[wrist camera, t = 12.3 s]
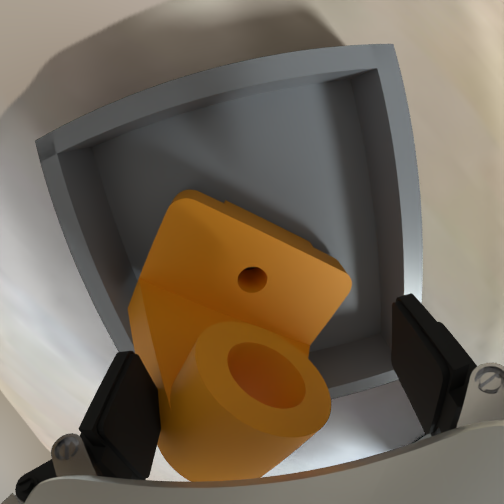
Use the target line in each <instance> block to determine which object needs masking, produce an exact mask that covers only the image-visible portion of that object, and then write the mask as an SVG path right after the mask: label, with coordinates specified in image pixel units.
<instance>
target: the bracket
mask: <svg viewBox="0 0 504 504" xmlns="http://www.w3.org/2000/svg"><path fill="white" fill-rule="evenodd" d="M248 267H256V268H254V269H251V270H245V268H248ZM351 287H352V281H351V278H350V276H349V275H348V274H347V272H346V271H345V269H344V268H343V267H342V265H341V264H340V263H339V261H338V260H337V259H335V258H333V257H332V256H330V255H328V254H326V253H324V252H322V251H320V250H318V249H316V248H314V247H313V246H312V244H311V243H310V242H309V241H307V240H305V239H303V238H301V237H299V236H297V235H295V234H293V233H291V232H289V231H287V230H285V229H283V228H281V227H279V226H277V225H275V224H273V223H271V222H269V221H267V220H265V219H263V218H261V217H259V216H257V215H255V214H253V213H251V212H249V211H247V210H245V209H243V208H241V207H239V206H237V205H235V204H232V203H230V202H228V201H226V200H225V202H224V203H222V202H220V201H218V200H216V199H214V198H212V197H210V196H207V195H205V194H203V193H201V192H199V191H196V190H184V191H182V192H180V193H179V194H177V195H176V196H175V198H174V199H173V201H172V203H171V204H170V206H169V208H168V209H167V212H166V214H165V216H164V218H163V221H162V223H161V225H160V228H159V230H158V232H157V235H156V237H155V239H154V242H153V244H152V247H151V249H150V251H149V254H148V256H147V259H146V261H145V264H144V266H143V269H142V272H141V274H140V277H139V279H138V282H137V284H136V287H135V290H134V292H133V295H132V298H131V301H130V303H129V306H128V315H129V321H130V327H131V333H132V339H133V345H134V350H135V354H138V355H139V356H140V358H141V360H142V362H143V364H144V366H145V367H146V369H147V371H148V373H149V375H150V377H151V378H152V380H153V382H154V384H155V385H156V387H157V389H158V398H159V411H160V422H161V431H160V435H159V439H158V443H157V445H158V447H159V449H160V451H161V453H162V455H163V456H164V458H165V459H166V461H167V462H168V463H169V464H170V466H171V467H172V468H173V469H174V470H175V471H177V472H178V473H179V474H180V475H181V476H183V477H184V478H186V479H187V480H189V481H191V482H203V481H228V480H242V479H253V478H260V477H262V476H263V475H264V474H266V473H267V472H268V471H270V470H271V469H272V468H274V467H275V466H276V465H278V464H279V463H280V462H281V461H283V460H284V459H285V458H286V457H288V456H289V455H290V454H291V453H293V452H294V451H295V450H296V449H298V448H299V447H300V446H301V445H302V444H303V443H305V442H306V441H307V440H308V439H309V438H310V437H312V436H313V435H314V434H315V433H316V432H317V431H318V430H320V429H321V428H322V427H323V426H324V425H325V423H326V422H327V420H328V418H329V416H330V412H331V397H330V393H329V390H328V387H327V385H326V383H325V381H324V379H323V377H322V376H321V374H320V373H319V371H318V370H317V368H316V367H315V366H314V365H313V363H312V362H311V361H310V360H309V359H308V357H309V350H310V345H311V343H312V342H313V341H314V340H315V338H316V337H317V336H318V334H319V333H320V332H321V331H322V329H323V328H324V327H325V325H326V324H327V323H328V321H329V320H330V319H331V317H332V316H333V315H334V313H335V312H336V310H337V309H338V308H339V306H340V305H341V304H342V302H343V301H344V299H345V298H346V297H347V295H348V294H349V292H350V290H351Z"/></svg>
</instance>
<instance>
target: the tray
mask: <svg viewBox="0 0 504 504" xmlns="http://www.w3.org/2000/svg"><path fill="white" fill-rule="evenodd" d="M35 143H36V147H37V151H38V155H39V159H40V163H41V166H42V170H43V173H44V177H45V180H46V183H47V187H48V190H49V193H50V196H51V199H52V202H53V205H54V208H55V211H56V214H57V217H58V220H59V223H60V226H61V228H62V231H63V234H64V236H65V239H66V241H67V244H68V247H69V249H70V252H71V254H72V256H73V259H74V261H75V264H76V266H77V268H78V271H79V273H80V275H81V278H82V280H83V282H84V284H85V286H86V289H87V291H88V293H89V295H90V297H91V299H92V301H93V303H94V306H95V308H96V310H97V312H98V314H99V316H100V318H101V320H102V322H103V323H104V325H105V327H106V329H107V331H108V333H109V335H110V337H111V339H112V340H113V342H114V344H115V346H116V348H117V349H118V351H119V352H123V351H133V352H134V353H135V350H134V345H133V339H132V333H131V327H130V321H129V315H128V306H129V303H130V301H131V298H132V295H133V292H134V290H135V287H136V284H137V282H138V279H139V277H140V274H141V272H142V269H143V266H144V264H145V261H146V259H147V256H148V254H149V251H150V249H151V247H152V244H153V242H154V239H155V237H156V235H157V232H158V230H159V228H160V225H161V223H162V221H163V218H164V216H165V214H166V212H167V209H168V208H169V206H170V204H171V203H172V201H173V199H174V198H175V196H176V195H177V194H179V193H180V192H182V191H184V190H196V191H199V192H201V193H203V194H205V195H207V196H210V197H212V198H214V199H216V200H218V201H220V202H222V203H224V202H225V200H226V201H228V202H230V203H232V204H235V205H237V206H239V207H241V208H243V209H245V210H247V211H249V212H251V213H253V214H255V215H257V216H259V217H261V218H263V219H265V220H267V221H269V222H271V223H273V224H275V225H277V226H279V227H281V228H283V229H285V230H287V231H289V232H291V233H293V234H295V235H297V236H299V237H301V238H303V239H305V240H307V241H309V242H310V243H311V244H312V246H313V247H314V248H316V249H318V250H320V251H322V252H324V253H326V254H328V255H330V256H332V257H333V258H335V259H337V260H338V261H339V263H340V264H341V265H342V267H343V268H344V269H345V271H346V272H347V274H348V275H349V276H350V278H351V281H352V287H351V290H350V292H349V294H348V295H347V297H346V298H345V299H344V301H343V302H342V304H341V305H340V306H339V308H338V309H337V310H336V312H335V313H334V315H333V316H332V317H331V319H330V320H329V321H328V323H327V324H326V325H325V327H324V328H323V329H322V331H321V332H320V333H319V334H318V336H317V337H316V338H315V340H314V341H313V342H312V343H311V345H310V350H309V357H308V359H309V360H310V361H311V362H312V363H313V365H314V366H315V367H316V368H317V370H318V371H319V373H320V374H321V376H322V377H323V379H324V381H325V383H326V385H327V387H328V390H329V393H330V397H331V399H334V398H338V397H342V396H346V395H350V394H353V393H357V392H360V391H364V390H367V389H371V388H374V387H377V386H381V385H384V384H387V383H390V382H393V381H396V380H399V379H398V377H397V375H396V373H395V371H394V369H393V366H392V362H391V350H392V303H394V302H396V298H397V297H400V296H403V295H407V294H410V293H412V294H413V295H414V296H415V297H416V298H417V299H418V300H419V301H420V303H421V304H422V277H423V243H422V216H421V200H420V188H419V177H418V168H417V159H416V151H415V144H414V137H413V131H412V125H411V119H410V114H409V108H408V103H407V98H406V93H405V89H404V84H403V80H402V76H401V72H400V68H399V64H398V60H397V56H396V52H395V49H394V45H393V44H368V45H350V46H337V47H327V48H318V49H310V50H302V51H295V52H288V53H282V54H276V55H271V56H265V57H260V58H255V59H250V60H246V61H241V62H237V63H232V64H228V65H224V66H220V67H216V68H212V69H209V70H205V71H201V72H198V73H194V74H191V75H188V76H184V77H181V78H178V79H175V80H172V81H169V82H166V83H163V84H160V85H157V86H154V87H151V88H148V89H146V90H143V91H140V92H138V93H135V94H132V95H130V96H127V97H125V98H122V99H120V100H117V101H115V102H113V103H110V104H108V105H106V106H103V107H101V108H99V109H97V110H94V111H92V112H90V113H88V114H86V115H84V116H81V117H79V118H77V119H75V120H73V121H71V122H69V123H67V124H65V125H63V126H61V127H59V128H58V129H56V130H54V131H52V132H50V133H48V134H46V135H45V136H43V137H41V138H39V139H37V140H36V141H35ZM254 268H256V267H248V268H245V270H251V269H254Z"/></svg>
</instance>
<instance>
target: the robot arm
mask: <svg viewBox="0 0 504 504" xmlns="http://www.w3.org/2000/svg"><path fill="white" fill-rule="evenodd" d="M391 362H392V366H393V369H394V371H395V373H396V375H397V377H398V379H399V380H400V382H401V384H402V386H403V388H404V390H405V392H406V394H407V396H408V398H409V400H410V402H411V405H412V407H413V409H414V411H415V413H416V415H417V417H418V419H419V421H420V423H421V425H422V427H423V430H424V432H425V433H426V434H427V435H425V436H424V437H422V438H421V439H419V440H418V441H416V442H415V443H412V444H409V445H406V446H403V447H400V448H397V449H394V450H390V451H387V452H384V453H380V454H377V455H374V456H370V457H366V458H363V459H359V460H355V461H351V462H347V463H343V464H339V465H335V466H330V467H325V468H320V469H315V470H310V471H304V472H299V473H292V474H286V475H279V476H271V477H263V478H253V479H242V480H228V481H203V482H172V481H149V480H145V479H146V478H148V477H149V475H150V471H151V467H152V463H153V459H154V455H155V451H156V447H157V443H158V439H159V435H160V431H161V422H160V411H159V398H158V389H157V387H156V385H155V384H154V382H153V380H152V378H151V377H150V375H149V373H148V371H147V369H146V367H145V366H144V364H143V362H142V360H141V358H140V356H139V355H138V354H135V353H134V352H133V351H123V352H118V353H117V354H116V356H115V358H114V360H113V362H112V363H111V365H110V367H109V369H108V371H107V373H106V375H105V377H104V379H103V381H102V383H101V385H100V386H99V388H98V390H97V392H96V394H95V396H94V398H93V400H92V402H91V404H90V406H89V408H88V410H87V412H86V415H85V417H84V419H83V421H82V423H81V425H80V427H79V430H80V431H81V434H80V436H78V435H77V434H73V433H72V434H66V435H63V436H62V437H60V438H59V439H58V440H57V441H56V442H55V443H54V445H53V446H52V449H51V456H52V459H51V460H50V461H48V462H46V463H44V464H42V465H41V466H39V467H37V468H35V469H34V470H32V471H30V472H28V473H26V474H25V475H23V476H22V477H21V478H20V479H19V480H18V482H17V484H16V489H15V490H16V495H15V494H13V493H12V494H11V495H10V496H9V497H8V498H6V499H5V500H4V501H3V502H2V503H1V504H504V366H502V365H500V364H497V363H485V364H481V365H479V366H478V367H477V365H476V364H475V363H474V362H473V360H472V359H471V358H470V356H469V355H468V354H467V353H466V351H465V350H464V349H463V348H462V346H461V345H460V344H459V343H458V341H457V340H456V339H455V338H454V337H453V335H452V334H451V333H450V332H449V331H448V329H447V328H446V327H445V326H444V325H443V324H442V323H441V322H437V321H436V320H435V319H434V318H433V317H432V315H431V314H430V313H429V312H428V311H427V310H426V308H425V307H424V306H423V305H422V304H421V303H420V301H419V300H418V299H417V298H416V297H415V296H414V295H413V294H412V293H410V294H407V295H403V296H400V297H397V298H396V302H394V303H392V350H391Z"/></svg>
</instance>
